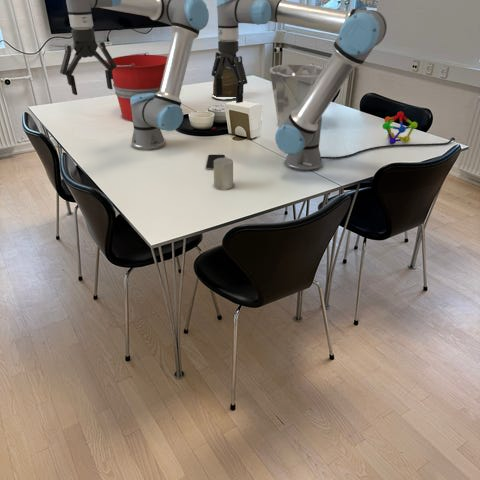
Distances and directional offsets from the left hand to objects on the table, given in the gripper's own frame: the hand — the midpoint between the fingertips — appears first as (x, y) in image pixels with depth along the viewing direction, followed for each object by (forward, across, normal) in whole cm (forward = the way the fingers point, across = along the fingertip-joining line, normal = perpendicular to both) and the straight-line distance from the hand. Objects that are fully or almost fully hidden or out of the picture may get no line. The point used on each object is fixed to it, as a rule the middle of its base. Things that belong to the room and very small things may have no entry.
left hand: (92, 91), depth 163 cm
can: (+32, +29, -41) cm, 59 cm away
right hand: (+5, +45, -24) cm, 51 cm away
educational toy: (+32, +122, -54) cm, 137 cm away
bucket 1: (+32, +51, +61) cm, 85 cm away
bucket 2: (+32, +104, -5) cm, 109 cm away
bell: (+32, +111, +63) cm, 132 cm away
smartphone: (+32, +40, -20) cm, 55 cm away
